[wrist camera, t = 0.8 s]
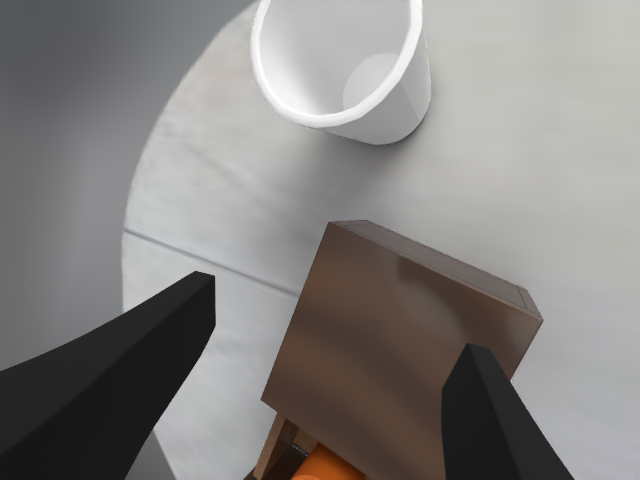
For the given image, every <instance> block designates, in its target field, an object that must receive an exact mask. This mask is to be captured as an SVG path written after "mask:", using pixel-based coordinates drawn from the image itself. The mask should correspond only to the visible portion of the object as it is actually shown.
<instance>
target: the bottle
mask: <svg viewBox="0 0 640 480" xmlns="http://www.w3.org/2000/svg"><path fill="white" fill-rule="evenodd" d="M365 477H366V475H365V474H364V473H362V472H361V471H360V470H358V469H357V468H355V467H354V466H353V465H351V464H350V463H348V462H347V461H346V460H344V459H343V458H341V457H340V456H339V455H337V454H336V453H334V452H333V451H332V450H330V449H329V448H327V447H326V446H325V445H323V444H322V443H320V442H318V443H317V444H316V446H315V447H314V449H313V450H312V451H311V453H310V454H309V455H308V457H307V458H306V459H305V461H304V462H303V463H302V465H301V466H300V468H299V469H298V470H297V472H296V473H295V474H294V476H293V477H292V478H291V480H364V479H365Z"/></svg>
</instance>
